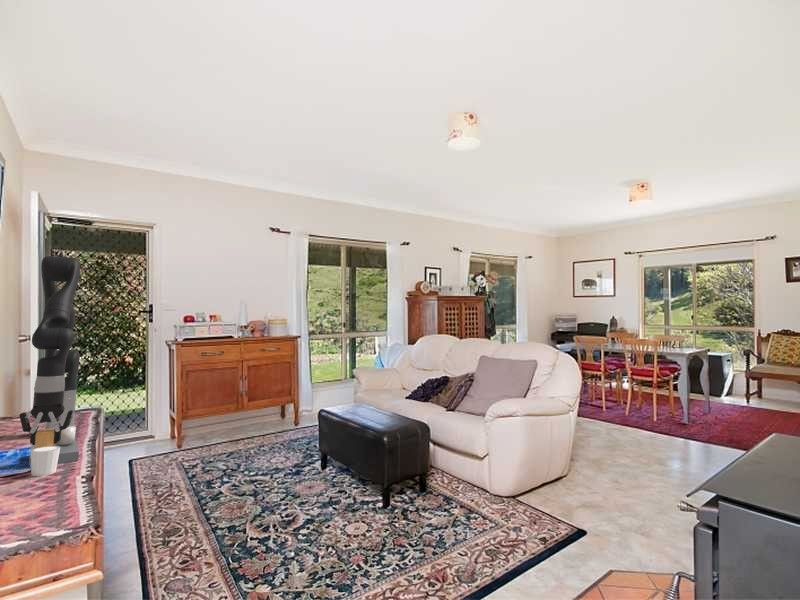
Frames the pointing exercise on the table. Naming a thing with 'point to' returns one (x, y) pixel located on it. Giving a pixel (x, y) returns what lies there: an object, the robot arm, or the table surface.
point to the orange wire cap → (44, 438)
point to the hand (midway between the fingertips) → (45, 443)
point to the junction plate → (66, 446)
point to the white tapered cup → (44, 460)
